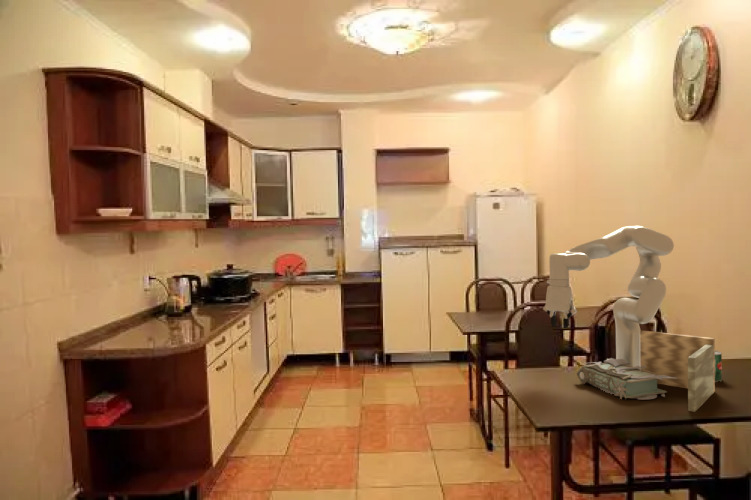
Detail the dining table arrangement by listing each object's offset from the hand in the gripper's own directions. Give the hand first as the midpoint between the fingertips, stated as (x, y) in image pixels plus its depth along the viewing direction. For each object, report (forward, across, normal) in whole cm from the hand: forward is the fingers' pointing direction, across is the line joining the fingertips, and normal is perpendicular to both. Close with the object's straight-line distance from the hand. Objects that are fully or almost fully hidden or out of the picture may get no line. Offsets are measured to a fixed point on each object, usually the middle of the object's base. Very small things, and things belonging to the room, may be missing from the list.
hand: (559, 326), depth 214 cm
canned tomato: (+22, +46, +35) cm, 62 cm away
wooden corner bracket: (+21, +38, +4) cm, 44 cm away
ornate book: (+22, +25, 0) cm, 33 cm away
